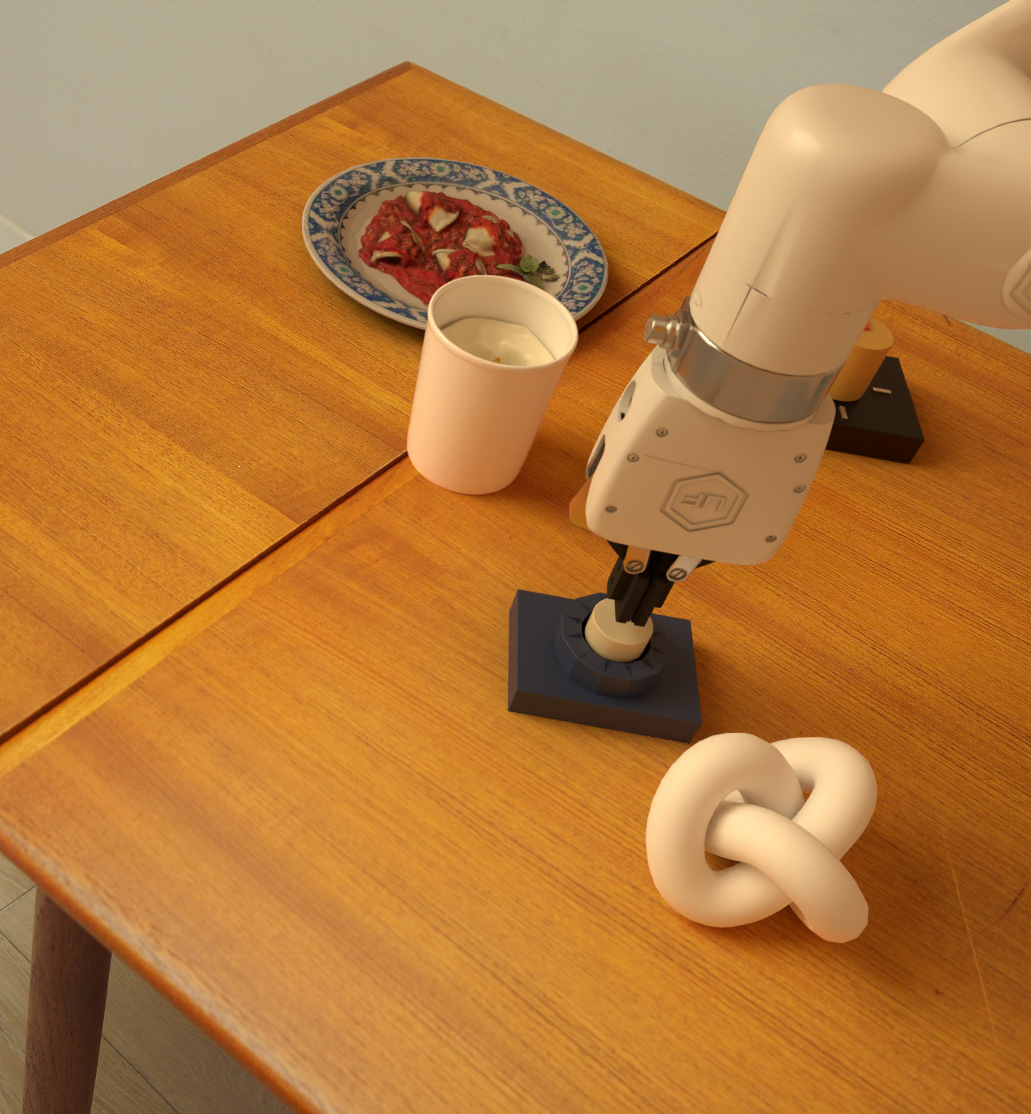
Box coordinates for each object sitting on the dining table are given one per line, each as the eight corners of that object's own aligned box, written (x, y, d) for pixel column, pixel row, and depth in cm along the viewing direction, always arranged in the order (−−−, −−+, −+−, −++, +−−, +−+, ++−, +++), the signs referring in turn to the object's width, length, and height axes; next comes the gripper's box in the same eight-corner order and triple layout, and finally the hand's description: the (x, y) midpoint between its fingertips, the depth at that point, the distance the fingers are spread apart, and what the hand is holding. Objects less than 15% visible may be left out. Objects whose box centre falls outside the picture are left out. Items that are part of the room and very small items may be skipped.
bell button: (642, 621, 76) (651, 602, 75) (645, 667, 74) (655, 649, 73) (583, 610, 76) (592, 592, 75) (585, 656, 74) (594, 638, 73)
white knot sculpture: (642, 973, 65) (705, 890, 58) (602, 774, 73) (654, 680, 66) (852, 984, 66) (938, 903, 59) (790, 786, 74) (859, 695, 67)
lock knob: (869, 406, 95) (902, 350, 92) (811, 396, 95) (842, 340, 92) (857, 369, 98) (889, 314, 95) (802, 360, 98) (831, 305, 95)
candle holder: (465, 524, 85) (509, 388, 76) (366, 442, 90) (397, 304, 81) (558, 468, 90) (609, 334, 82) (460, 392, 95) (498, 257, 86)
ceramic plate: (237, 262, 103) (240, 230, 100) (400, 147, 118) (406, 117, 116) (512, 404, 95) (522, 374, 92) (648, 261, 110) (660, 232, 108)
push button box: (678, 641, 80) (701, 601, 78) (689, 744, 75) (714, 705, 72) (509, 611, 80) (524, 569, 78) (507, 711, 75) (524, 671, 72)
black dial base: (884, 381, 102) (899, 355, 100) (909, 464, 95) (926, 438, 93) (738, 355, 102) (751, 329, 100) (753, 436, 95) (767, 409, 93)
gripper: (599, 377, 57) (499, 632, 70) (925, 437, 57) (763, 680, 70) (594, 282, 62) (501, 537, 75) (893, 337, 62) (747, 582, 75)
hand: (628, 605), depth 73 cm, fingers closed
